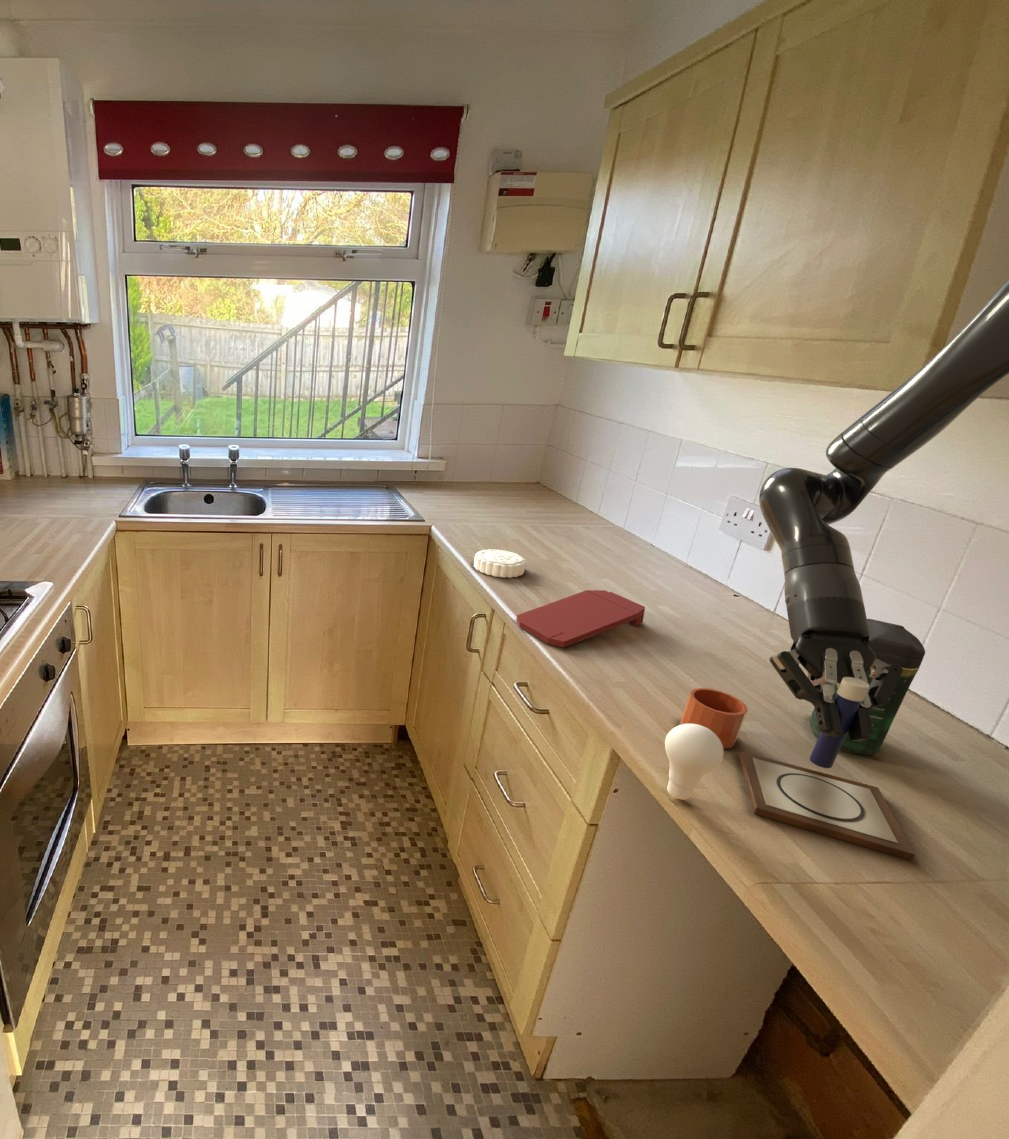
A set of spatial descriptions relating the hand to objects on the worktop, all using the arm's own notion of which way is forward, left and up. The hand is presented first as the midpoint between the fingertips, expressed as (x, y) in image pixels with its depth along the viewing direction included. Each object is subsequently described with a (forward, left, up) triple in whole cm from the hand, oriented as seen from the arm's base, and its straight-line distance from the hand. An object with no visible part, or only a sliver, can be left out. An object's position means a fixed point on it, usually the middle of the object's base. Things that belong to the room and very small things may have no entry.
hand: (846, 737), depth 76 cm
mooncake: (+49, -68, -12) cm, 85 cm away
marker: (+1, -2, -5) cm, 6 cm away
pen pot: (+10, -13, -12) cm, 20 cm away
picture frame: (-1, -3, -12) cm, 12 cm away
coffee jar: (-8, -23, -12) cm, 27 cm away
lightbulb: (+15, +5, -12) cm, 20 cm away
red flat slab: (+29, -44, -12) cm, 54 cm away
